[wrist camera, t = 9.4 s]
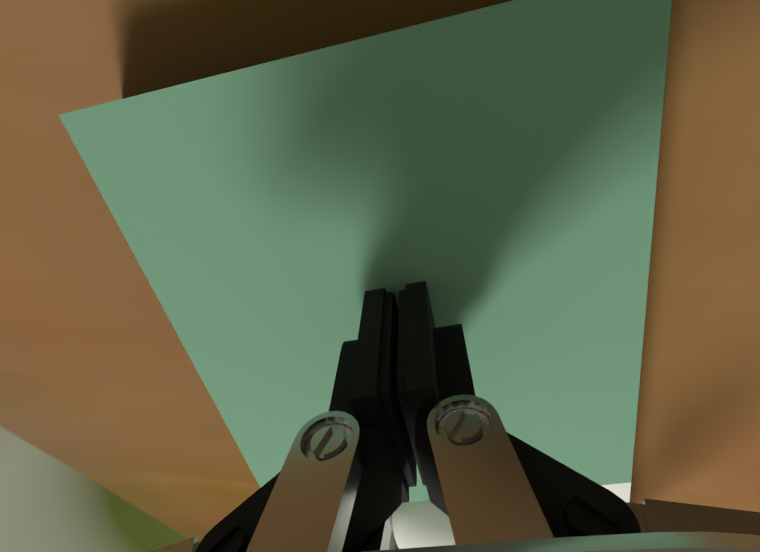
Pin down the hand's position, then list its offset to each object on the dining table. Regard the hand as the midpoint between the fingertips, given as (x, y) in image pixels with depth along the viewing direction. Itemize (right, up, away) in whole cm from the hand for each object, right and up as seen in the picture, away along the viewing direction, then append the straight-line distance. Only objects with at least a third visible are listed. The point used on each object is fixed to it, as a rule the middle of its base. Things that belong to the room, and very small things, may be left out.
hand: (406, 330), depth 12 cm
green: (+1, -3, +5) cm, 6 cm away
